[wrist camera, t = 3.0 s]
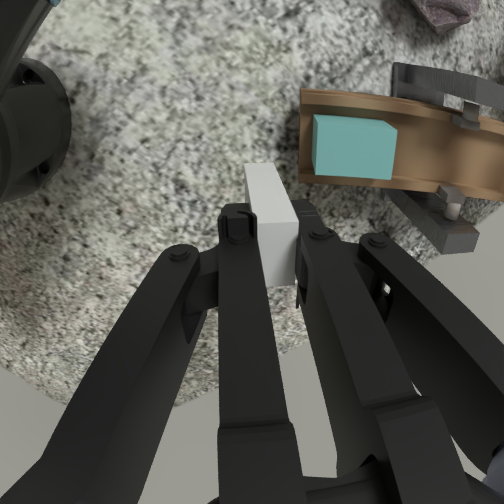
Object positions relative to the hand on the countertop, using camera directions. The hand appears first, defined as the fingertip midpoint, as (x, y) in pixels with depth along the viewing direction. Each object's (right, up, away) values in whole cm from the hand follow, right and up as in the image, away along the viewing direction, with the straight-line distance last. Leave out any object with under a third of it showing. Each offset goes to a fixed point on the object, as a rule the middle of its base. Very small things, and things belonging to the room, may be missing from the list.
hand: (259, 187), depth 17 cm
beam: (+18, +7, +9) cm, 21 cm away
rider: (+8, +6, +9) cm, 13 cm away
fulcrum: (+17, +9, +13) cm, 23 cm away
